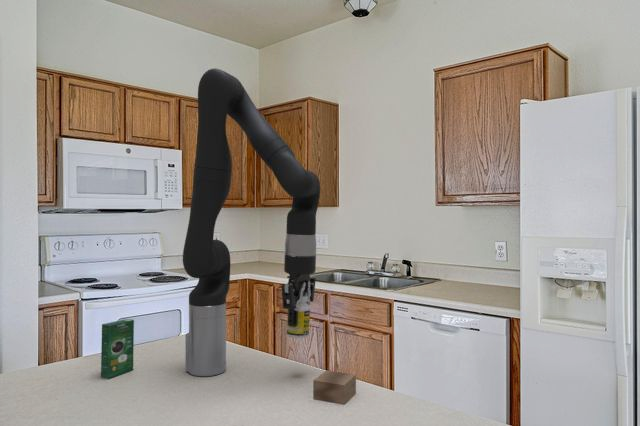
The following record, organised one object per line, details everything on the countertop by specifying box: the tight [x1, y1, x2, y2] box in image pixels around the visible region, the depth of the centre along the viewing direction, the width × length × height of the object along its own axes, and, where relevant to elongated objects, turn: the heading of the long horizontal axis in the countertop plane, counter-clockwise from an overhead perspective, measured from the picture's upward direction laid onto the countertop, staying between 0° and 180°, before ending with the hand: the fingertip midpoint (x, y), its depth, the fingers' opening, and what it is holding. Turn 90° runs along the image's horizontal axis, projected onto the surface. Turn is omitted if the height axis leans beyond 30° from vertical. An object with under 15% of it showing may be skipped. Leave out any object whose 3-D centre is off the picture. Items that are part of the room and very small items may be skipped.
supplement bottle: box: [286, 295, 311, 339], centre depth 118 cm, size 5×5×10 cm
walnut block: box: [312, 369, 357, 405], centre depth 105 cm, size 7×7×4 cm
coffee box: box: [100, 318, 135, 380], centre depth 122 cm, size 8×3×13 cm, turn 153°
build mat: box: [308, 391, 361, 408], centre depth 108 cm, size 12×12×1 cm
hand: (298, 323), depth 118 cm, fingers closed on supplement bottle, 5 cm apart
